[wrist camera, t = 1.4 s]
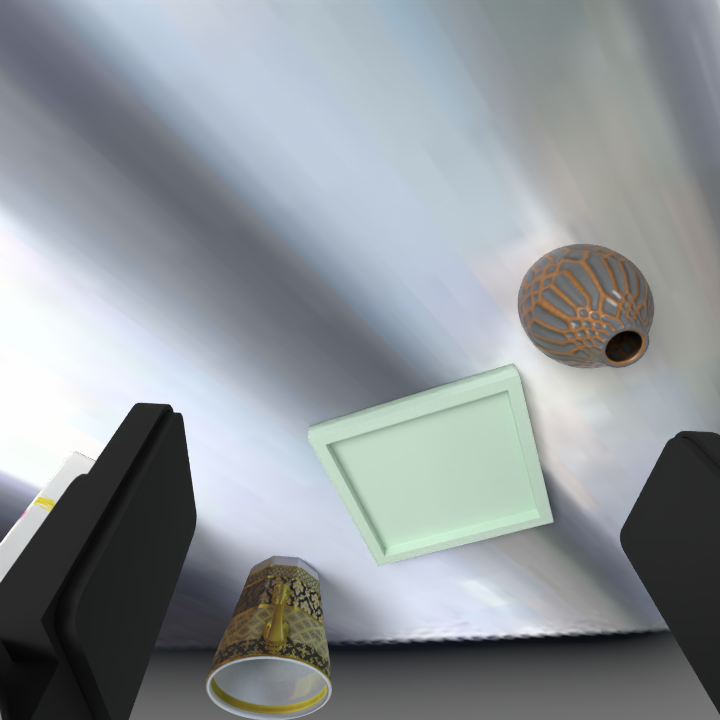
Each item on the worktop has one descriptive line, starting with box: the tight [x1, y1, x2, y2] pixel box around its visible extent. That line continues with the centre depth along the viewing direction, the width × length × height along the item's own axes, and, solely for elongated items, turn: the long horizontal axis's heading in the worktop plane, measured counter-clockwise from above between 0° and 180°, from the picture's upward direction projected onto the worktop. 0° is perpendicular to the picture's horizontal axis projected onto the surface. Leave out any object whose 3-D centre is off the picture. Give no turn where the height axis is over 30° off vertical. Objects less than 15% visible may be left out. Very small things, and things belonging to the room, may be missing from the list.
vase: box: [518, 244, 654, 368], centre depth 27 cm, size 7×7×9 cm
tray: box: [308, 364, 553, 566], centre depth 38 cm, size 16×16×2 cm
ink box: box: [0, 451, 96, 582], centre depth 35 cm, size 9×8×13 cm
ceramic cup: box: [206, 556, 332, 720], centre depth 41 cm, size 13×10×10 cm
